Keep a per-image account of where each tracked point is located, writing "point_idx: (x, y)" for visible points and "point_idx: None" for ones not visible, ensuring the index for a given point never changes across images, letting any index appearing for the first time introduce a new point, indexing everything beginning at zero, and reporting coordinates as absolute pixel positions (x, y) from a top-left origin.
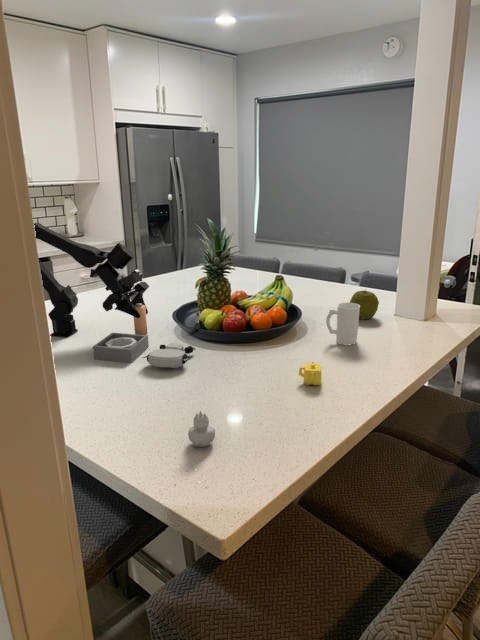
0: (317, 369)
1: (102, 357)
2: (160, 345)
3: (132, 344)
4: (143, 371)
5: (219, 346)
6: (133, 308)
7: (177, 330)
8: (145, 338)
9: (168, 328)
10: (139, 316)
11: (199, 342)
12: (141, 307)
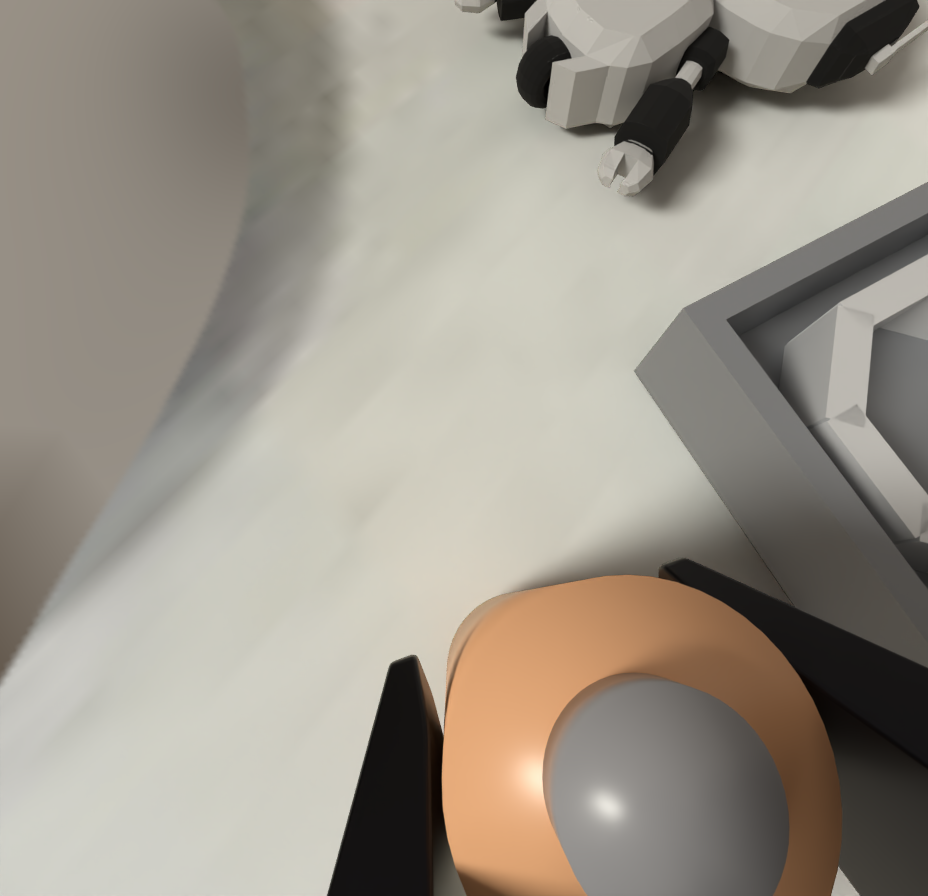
0: None
1: None
2: (669, 134)
3: (916, 267)
4: (902, 73)
5: (233, 3)
6: (913, 680)
7: (112, 524)
8: (734, 285)
9: (112, 664)
10: (690, 562)
11: (257, 148)
12: (648, 616)
